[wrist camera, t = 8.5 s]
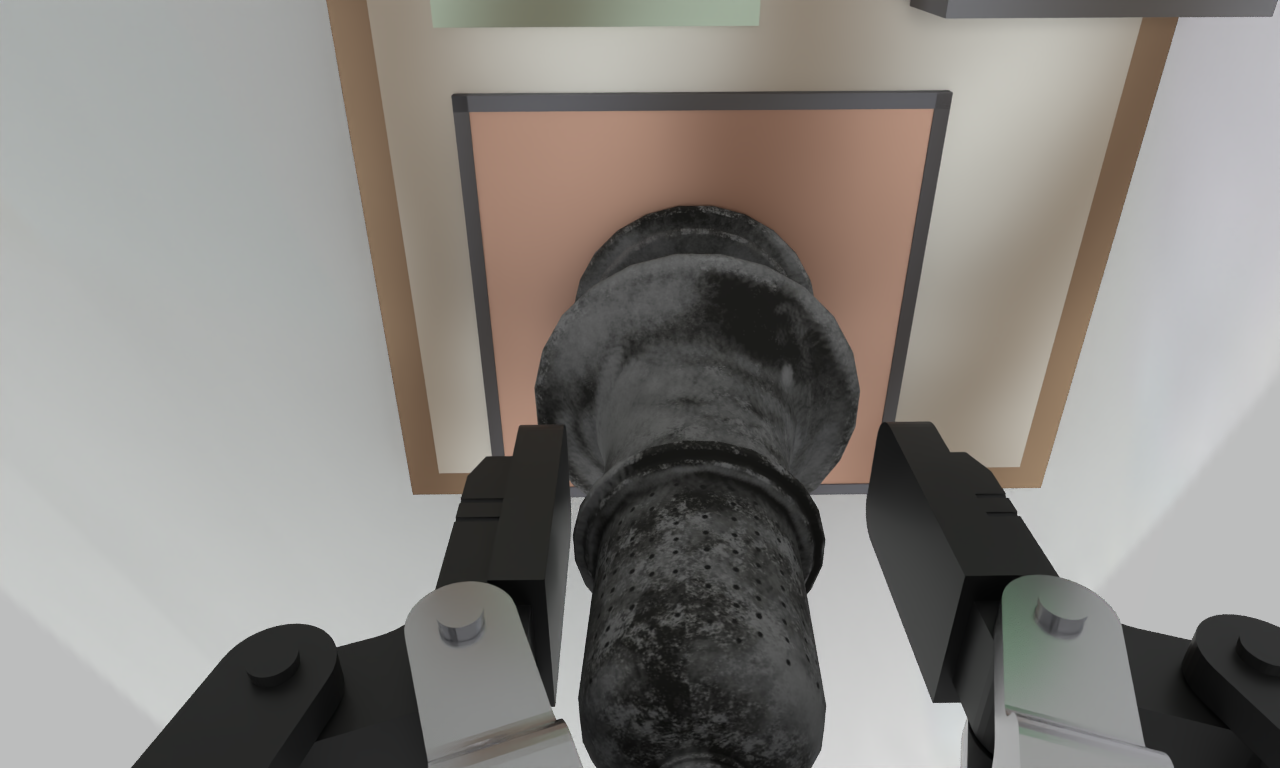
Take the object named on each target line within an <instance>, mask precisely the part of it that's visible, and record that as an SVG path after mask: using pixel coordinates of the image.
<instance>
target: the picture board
mask: <svg viewBox="0 0 1280 768" xmlns="http://www.w3.org/2000/svg"><path fill="white" fill-rule="evenodd" d="M1277 1H1278V0H326V2H327V7H328V13H329V19H330V24H331V30H332V36H333V41H334V47H335V53H336V59H337V64H338V70H339V76H340V81H341V87H342V93H343V98H344V104H345V110H346V116H347V121H348V127H349V133H350V138H351V144H352V150H353V156H354V161H355V167H356V173H357V178H358V184H359V190H360V195H361V201H362V207H363V213H364V218H365V224H366V230H367V235H368V241H369V247H370V252H371V258H372V264H373V270H374V275H375V281H376V287H377V292H378V298H379V304H380V309H381V315H382V321H383V327H384V332H385V338H386V344H387V349H388V355H389V361H390V366H391V372H392V378H393V384H394V389H395V395H396V401H397V406H398V412H399V418H400V423H401V429H402V435H403V441H404V446H405V452H406V458H407V463H408V469H409V475H410V480H411V486H412V492H413V495H419V494H462V493H463V490H464V486H465V482H466V479H467V476H468V475H469V474H470V473H471V472H472V471H473V470H474V469H475V467H476V466H477V465H478V464H479V463H480V462H481V461H482V460H483V459H484V458H485V457H486V456H513V451H514V446H515V442H516V437H517V432H518V428H519V426H520V425H538V422H537V411H536V401H535V390H534V387H535V382H536V378H537V373H538V368H539V364H540V359H541V354H542V350H543V348H544V346H545V345H546V343H547V341H548V339H549V337H550V336H551V334H552V332H553V330H554V329H555V327H556V325H557V323H558V321H559V320H560V318H561V316H562V315H563V314H564V313H565V312H566V311H567V310H568V309H569V308H570V307H571V306H572V305H573V304H574V303H575V299H576V294H577V290H578V286H579V281H580V279H581V277H582V275H583V273H584V271H585V270H586V268H587V266H588V264H589V263H590V261H591V259H592V257H593V255H594V254H595V252H596V251H597V250H598V249H599V248H600V247H601V246H602V245H603V244H604V243H605V242H606V241H607V240H608V239H609V238H610V237H611V236H612V235H613V234H614V233H616V232H617V231H618V230H619V229H621V228H623V227H625V226H627V225H628V224H630V223H632V222H634V221H635V220H637V219H639V218H641V217H642V216H644V215H646V214H650V213H654V212H657V211H661V210H665V209H669V208H673V207H676V206H715V207H719V208H723V209H727V210H731V211H734V212H738V213H742V214H746V215H747V216H749V217H751V218H753V219H754V220H756V221H758V222H760V223H761V224H763V225H765V226H767V227H769V228H770V229H772V230H774V231H775V232H776V233H777V234H778V235H779V236H780V237H781V238H782V239H783V240H784V241H785V242H786V243H787V244H788V245H789V246H790V247H791V248H792V249H793V250H794V251H795V252H796V254H797V256H798V258H799V259H800V261H801V263H802V265H803V267H804V269H805V271H806V272H807V274H808V276H809V278H810V280H811V283H812V288H813V294H814V297H815V298H816V299H817V300H818V301H819V302H820V303H821V304H822V305H823V306H824V307H825V308H826V309H827V310H828V311H829V312H830V313H831V314H832V315H833V316H834V317H835V319H836V321H837V323H838V325H839V327H840V329H841V330H842V332H843V334H844V336H845V338H846V340H847V342H848V344H849V345H850V347H851V349H852V351H853V354H854V359H855V365H856V370H857V376H858V381H859V387H860V397H859V404H858V412H857V419H856V427H855V429H854V431H853V434H852V436H851V438H850V440H849V442H848V445H847V447H846V449H845V451H844V453H843V455H842V458H841V460H840V461H839V462H838V464H837V465H836V466H835V467H834V468H833V470H832V471H831V472H830V473H829V474H828V476H827V477H826V478H825V479H824V480H823V481H822V483H821V484H820V485H819V486H818V487H817V489H815V490H814V491H813V492H811V493H810V494H809V495H822V494H867V493H868V487H869V481H870V475H871V469H872V463H873V457H874V451H875V445H876V439H877V434H878V430H879V427H880V425H881V424H882V423H883V422H917V421H930V422H932V423H933V424H934V425H935V427H936V429H937V430H938V432H939V434H940V435H941V437H942V439H943V440H944V442H945V444H946V446H947V447H948V449H949V451H950V452H966V453H968V454H969V455H970V456H972V457H973V458H974V459H976V460H977V461H978V462H980V463H981V464H982V465H984V466H985V467H986V468H988V469H989V470H990V471H991V472H992V473H993V475H994V476H995V478H996V479H997V481H998V482H999V484H1000V486H1001V487H1002V488H1041V485H1042V481H1043V478H1044V475H1045V471H1046V468H1047V464H1048V461H1049V458H1050V454H1051V451H1052V447H1053V444H1054V441H1055V437H1056V434H1057V430H1058V427H1059V423H1060V420H1061V417H1062V413H1063V410H1064V406H1065V403H1066V400H1067V396H1068V393H1069V389H1070V386H1071V383H1072V379H1073V376H1074V372H1075V369H1076V366H1077V362H1078V359H1079V355H1080V352H1081V348H1082V345H1083V342H1084V338H1085V335H1086V331H1087V328H1088V325H1089V321H1090V318H1091V314H1092V311H1093V308H1094V304H1095V301H1096V297H1097V294H1098V291H1099V287H1100V284H1101V280H1102V277H1103V274H1104V270H1105V267H1106V263H1107V260H1108V256H1109V253H1110V250H1111V246H1112V243H1113V239H1114V236H1115V233H1116V229H1117V226H1118V222H1119V219H1120V216H1121V212H1122V209H1123V205H1124V202H1125V199H1126V195H1127V192H1128V188H1129V185H1130V182H1131V178H1132V175H1133V171H1134V168H1135V164H1136V161H1137V158H1138V154H1139V151H1140V147H1141V144H1142V141H1143V137H1144V134H1145V130H1146V127H1147V124H1148V120H1149V117H1150V113H1151V110H1152V107H1153V103H1154V100H1155V96H1156V93H1157V90H1158V86H1159V83H1160V79H1161V76H1162V72H1163V69H1164V66H1165V62H1166V59H1167V55H1168V52H1169V49H1170V45H1171V42H1172V38H1173V35H1174V32H1175V28H1176V25H1177V21H1178V18H1179V17H1272V16H1273V13H1274V10H1275V7H1276V4H1277ZM569 482H570V480H569ZM586 496H587V495H585V494H584V493H583V492H581V491H580V490H579V489H578V488H576V487H575V486H574V485H573V484H572V483H571V482H570V497H586Z"/></svg>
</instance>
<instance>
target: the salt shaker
mask: <svg viewBox="0 0 1280 768" xmlns="http://www.w3.org/2000/svg"><path fill="white" fill-rule="evenodd" d="M534 390H535V401H536V411H537V422H538V425H558V424H565V426H566V432H567V447H568V465H569V480H570V482H571V483H572V484H573V485H574V486H575V487H576V488H578V489H579V490H580V491H581V492H583V493H584V494H585V495H587V496H586V497H585V499H584V500H583V502H582V503H581V505H580V508H579V512H578V516H577V520H576V524H575V528H574V532H573V541H574V554H575V561H576V564H577V566H578V569H579V571H580V573H581V576H582V578H583V581H584V583H585V585H586V586H587V587H588V588H589V590H590V591H591V592H592V600H591V608H590V615H589V622H588V630H587V637H586V644H585V652H584V659H583V666H582V674H581V681H580V689H579V696H578V701H579V713H580V723H581V731H582V739H583V743H584V745H585V747H586V750H587V752H588V754H589V756H590V758H591V760H592V762H593V763H594V765H595V766H596V768H811V767H812V765H813V764H814V762H815V760H816V758H817V756H818V755H819V753H820V751H821V747H822V740H823V732H824V723H825V712H826V702H825V697H824V691H823V685H822V679H821V674H820V668H819V662H818V656H817V651H816V645H815V639H814V634H813V628H812V622H811V616H810V611H809V605H808V599H807V593H808V592H809V591H810V590H811V588H812V586H813V584H814V582H815V580H816V578H817V576H818V574H819V571H820V569H821V567H822V564H823V555H824V547H825V536H824V532H823V527H822V523H821V518H820V514H819V509H818V508H817V506H816V504H815V503H814V501H813V500H812V498H811V496H810V495H809V494H810V493H811V492H813V491H814V490H815V489H817V487H818V486H819V485H820V484H821V483H822V481H823V480H824V479H825V478H826V477H827V476H828V474H829V473H830V472H831V471H832V470H833V468H834V467H835V466H836V465H837V464H838V462H839V461H840V460H841V458H842V455H843V453H844V451H845V449H846V447H847V445H848V442H849V440H850V438H851V436H852V434H853V431H854V429H855V427H856V419H857V412H858V404H859V397H860V387H859V381H858V376H857V370H856V365H855V359H854V354H853V351H852V349H851V347H850V345H849V344H848V342H847V340H846V338H845V336H844V334H843V332H842V330H841V329H840V327H839V325H838V323H837V321H836V319H835V317H834V316H833V315H832V314H831V313H830V312H829V311H828V310H827V309H826V308H825V307H824V306H823V305H822V304H821V303H820V302H819V301H818V300H817V299H816V298H815V297H814V294H813V288H812V283H811V280H810V278H809V276H808V274H807V272H806V271H805V269H804V267H803V265H802V263H801V261H800V259H799V258H798V256H797V254H796V252H795V251H794V250H793V249H792V248H791V247H790V246H789V245H788V244H787V243H786V242H785V241H784V240H783V239H782V238H781V237H780V236H779V235H778V234H777V233H776V232H775V231H774V230H772V229H770V228H769V227H767V226H765V225H763V224H761V223H760V222H758V221H756V220H754V219H753V218H751V217H749V216H747V215H746V214H742V213H738V212H734V211H731V210H727V209H723V208H719V207H715V206H676V207H673V208H669V209H665V210H661V211H657V212H654V213H650V214H646V215H644V216H642V217H641V218H639V219H637V220H635V221H634V222H632V223H630V224H628V225H627V226H625V227H623V228H621V229H619V230H618V231H617V232H616V233H614V234H613V235H612V236H611V237H610V238H609V239H608V240H607V241H606V242H605V243H604V244H603V245H602V246H601V247H600V248H599V249H598V250H597V251H596V252H595V254H594V255H593V257H592V259H591V261H590V263H589V264H588V266H587V268H586V270H585V271H584V273H583V275H582V277H581V279H580V281H579V286H578V290H577V294H576V299H575V303H574V304H573V305H572V306H571V307H570V308H569V309H568V310H567V311H566V312H565V313H564V314H563V315H562V316H561V318H560V320H559V321H558V323H557V325H556V327H555V329H554V330H553V332H552V334H551V336H550V337H549V339H548V341H547V343H546V345H545V346H544V348H543V350H542V354H541V359H540V364H539V368H538V373H537V378H536V382H535V387H534Z"/></svg>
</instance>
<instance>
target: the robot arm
mask: <svg viewBox="0 0 1280 768" xmlns="http://www.w3.org/2000/svg"><path fill="white" fill-rule="evenodd" d="M1005 494H1006V493H1005V492H1004V490H1003V489H1002V487H1001V486H1000V484H999V482H998V481H997V479H996V478H995V476H994V475H993V473H992V472H991V471H990V470H989V469H988V468H986V467H985V466H984V465H982V464H981V463H980V462H978V461H977V460H976V459H974V458H973V457H972V456H970V455H969V454H968V453H966V452H950V451H949V449H948V447H947V446H946V444H945V442H944V440H943V439H942V437H941V435H940V434H939V432H938V430H937V429H936V427H935V425H934V424H933V423H932V422H930V421H917V422H883V423H882V424H881V425H880V427H879V430H878V434H877V439H876V445H875V451H874V457H873V463H872V469H871V475H870V481H869V487H868V493H867V500H866V521H867V528H868V533H869V537H870V540H871V543H872V545H873V548H874V551H875V553H876V556H877V558H878V561H879V564H880V566H881V569H882V571H883V574H884V577H885V579H886V582H887V584H888V587H889V590H890V592H891V595H892V598H893V600H894V603H895V605H896V608H897V611H898V613H899V616H900V618H901V621H902V624H903V626H904V629H905V632H906V634H907V637H908V639H909V642H910V645H911V647H912V650H913V652H914V655H915V658H916V660H917V663H918V665H919V668H920V671H921V673H922V676H923V679H924V681H925V684H926V686H927V689H928V692H929V694H930V697H931V699H932V702H933V703H961V704H962V706H963V708H964V711H965V713H966V716H967V719H966V722H965V726H964V729H963V733H962V738H961V766H960V768H1280V627H1277V626H1275V625H1273V624H1270V623H1268V622H1265V621H1262V620H1258V619H1255V618H1251V617H1247V616H1241V615H1227V614H1225V615H1224V614H1223V615H1216V616H1212V617H1209V618H1207V619H1205V620H1204V621H1202V622H1201V623H1200V625H1199V626H1198V627H1197V630H1196V632H1195V634H1194V636H1193V638H1192V640H1187V639H1183V638H1178V637H1173V636H1169V635H1165V634H1160V633H1156V632H1151V631H1146V630H1142V629H1137V628H1134V627H1130V626H1126V625H1124V624H1121V623H1120V619H1119V618H1118V616H1117V614H1116V612H1115V611H1114V610H1113V609H1112V607H1111V606H1110V605H1109V604H1108V603H1107V602H1106V601H1105V600H1104V599H1103V598H1101V597H1100V596H1099V595H1097V594H1096V593H1094V592H1093V591H1091V590H1090V589H1088V588H1086V587H1084V586H1082V585H1080V584H1078V583H1076V582H1073V581H1070V580H1067V579H1064V578H1060V577H1059V576H1058V574H1057V573H1056V571H1055V570H1054V568H1053V566H1052V565H1051V563H1050V562H1049V560H1048V559H1047V557H1046V556H1045V554H1044V552H1043V551H1042V549H1041V548H1040V546H1039V545H1038V543H1037V542H1036V540H1035V538H1034V537H1033V535H1032V534H1031V532H1030V531H1029V529H1028V528H1027V526H1026V524H1025V523H1024V521H1023V520H1022V518H1021V517H1020V516H1017V510H1016V509H1015V507H1014V506H1013V504H1012V503H1011V501H1010V500H1009V498H1006V496H1005ZM570 537H571V500H570V482H569V465H568V447H567V432H566V426H565V424H558V425H520V426H519V428H518V432H517V437H516V442H515V446H514V451H513V456H486V457H485V458H484V459H483V460H482V461H481V462H480V463H479V464H478V465H477V466H476V467H475V469H474V470H473V471H472V472H471V473H470V474H469V475H468V476H467V479H466V482H465V486H464V490H463V493H462V497H461V503H460V504H459V507H458V511H457V514H456V522H454V525H453V529H452V532H451V536H450V539H449V543H448V546H447V550H446V553H445V557H444V561H443V564H442V568H441V571H440V575H439V578H438V582H437V585H436V589H435V590H434V591H432V592H431V593H429V594H428V595H426V596H425V597H423V598H422V599H421V600H420V601H419V602H418V603H417V604H416V605H415V606H414V607H413V608H412V610H411V611H410V613H409V614H408V617H407V619H406V622H405V625H403V626H402V627H400V628H398V629H396V630H394V631H391V632H389V633H387V634H384V635H381V636H378V637H374V638H370V639H367V640H363V641H359V642H355V643H351V644H348V645H344V646H340V647H336V646H335V643H334V641H333V639H332V638H331V637H330V635H329V634H327V633H326V632H325V631H324V630H322V629H320V628H317V627H315V626H311V625H306V624H286V625H280V626H276V627H272V628H268V629H266V630H263V631H261V632H258V633H256V634H254V635H252V636H250V637H248V638H247V639H245V640H244V641H242V642H240V643H239V644H238V645H236V646H235V647H234V648H233V649H232V650H230V651H229V652H228V653H227V655H226V656H225V657H224V658H223V659H222V660H221V661H220V662H219V664H218V665H217V666H216V667H215V668H214V670H213V671H212V672H211V673H210V674H209V676H208V677H207V678H206V679H205V680H204V681H203V683H202V684H201V685H200V686H199V687H198V689H197V690H196V691H195V692H194V693H193V695H192V696H191V697H190V698H189V699H188V701H187V702H186V703H185V704H184V705H183V707H182V708H181V709H180V710H179V711H178V712H177V714H176V715H175V716H174V717H173V718H172V720H171V721H170V722H169V723H168V724H167V726H166V727H165V728H164V729H163V730H162V732H161V733H160V734H159V735H158V736H157V738H156V739H155V740H154V741H153V742H152V743H151V745H150V746H149V747H148V748H147V749H146V751H145V752H144V753H143V754H142V755H141V757H140V758H139V759H138V760H137V761H136V763H135V764H134V765H133V766H132V767H131V768H583V766H582V763H581V760H580V757H579V755H578V752H577V749H576V747H575V744H574V741H573V738H572V736H571V733H570V731H569V729H568V726H567V725H566V723H565V721H564V720H563V719H559V720H556V718H555V716H554V714H553V711H552V708H551V707H555V703H556V692H557V681H558V670H559V659H560V648H561V637H562V626H563V615H564V604H565V593H566V582H567V571H568V560H569V549H570Z"/></svg>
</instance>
